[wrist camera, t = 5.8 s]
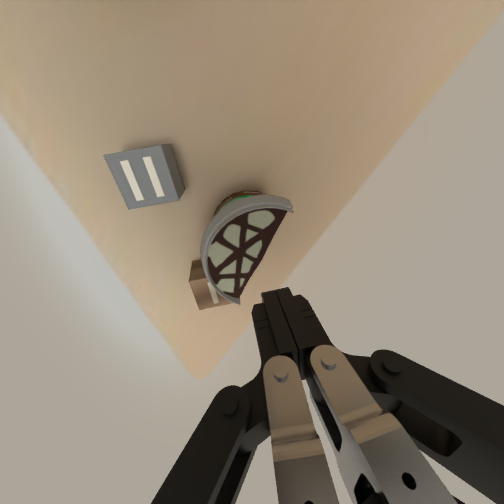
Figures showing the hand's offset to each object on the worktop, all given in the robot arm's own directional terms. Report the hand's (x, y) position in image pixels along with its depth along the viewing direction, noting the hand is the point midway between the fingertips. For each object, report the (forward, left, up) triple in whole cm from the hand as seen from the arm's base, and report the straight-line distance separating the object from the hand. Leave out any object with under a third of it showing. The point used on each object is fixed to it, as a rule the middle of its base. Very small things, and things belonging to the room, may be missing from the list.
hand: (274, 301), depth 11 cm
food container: (+1, -2, -19) cm, 19 cm away
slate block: (-6, -9, -18) cm, 21 cm away
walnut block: (+9, -6, -18) cm, 21 cm away
